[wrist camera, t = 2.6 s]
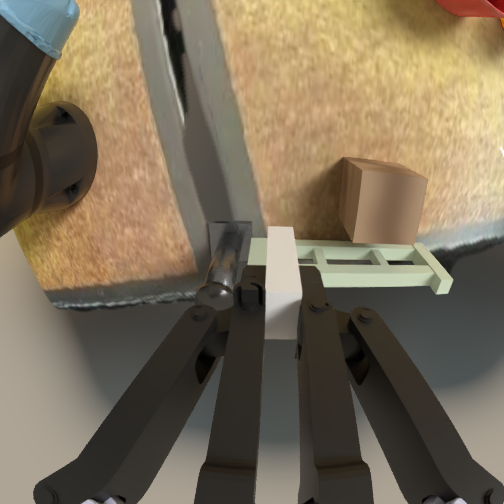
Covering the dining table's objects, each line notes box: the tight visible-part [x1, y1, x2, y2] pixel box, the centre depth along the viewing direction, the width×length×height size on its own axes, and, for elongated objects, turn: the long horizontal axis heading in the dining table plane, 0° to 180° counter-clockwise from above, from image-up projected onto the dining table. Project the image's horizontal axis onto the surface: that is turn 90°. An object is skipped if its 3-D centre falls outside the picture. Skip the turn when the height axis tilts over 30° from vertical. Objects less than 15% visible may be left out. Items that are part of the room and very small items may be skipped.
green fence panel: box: [248, 238, 453, 294], centre depth 28 cm, size 22×2×8 cm, turn 91°
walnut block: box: [338, 157, 428, 245], centre depth 26 cm, size 7×7×7 cm
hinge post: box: [194, 221, 252, 312], centre depth 28 cm, size 5×5×12 cm
